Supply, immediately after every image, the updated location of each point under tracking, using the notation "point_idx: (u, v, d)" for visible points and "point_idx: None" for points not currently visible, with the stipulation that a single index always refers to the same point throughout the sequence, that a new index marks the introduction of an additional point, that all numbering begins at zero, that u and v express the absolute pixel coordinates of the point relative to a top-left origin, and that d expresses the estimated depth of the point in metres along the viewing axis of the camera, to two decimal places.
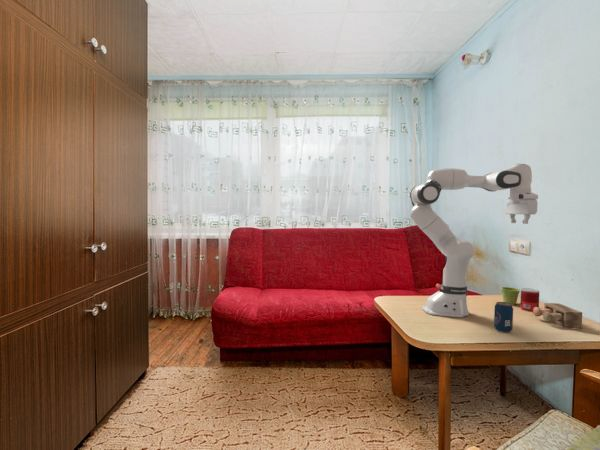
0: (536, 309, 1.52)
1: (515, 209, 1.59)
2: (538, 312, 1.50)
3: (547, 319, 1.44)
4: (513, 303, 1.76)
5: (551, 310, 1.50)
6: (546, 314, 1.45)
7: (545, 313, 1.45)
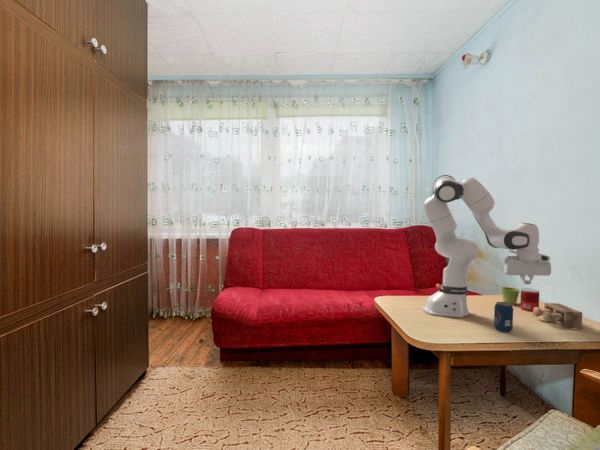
0: (536, 309, 1.52)
1: (527, 270, 1.50)
2: (538, 312, 1.50)
3: (547, 319, 1.44)
4: (513, 303, 1.76)
5: (551, 310, 1.50)
6: (546, 314, 1.45)
7: (545, 313, 1.45)
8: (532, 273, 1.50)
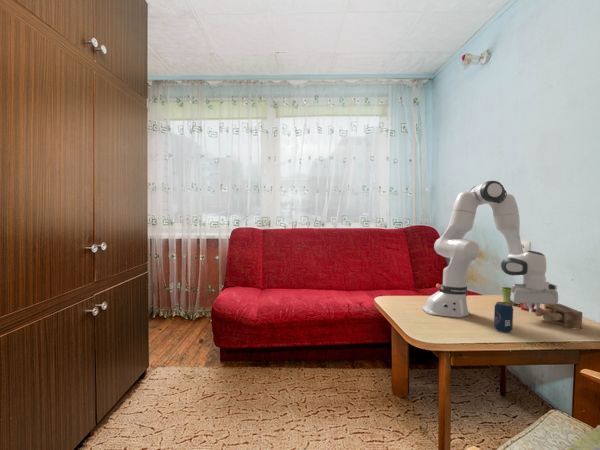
0: (537, 309, 1.52)
1: (534, 298, 1.50)
2: (539, 312, 1.50)
3: (547, 319, 1.44)
4: (513, 303, 1.76)
5: (552, 310, 1.50)
6: (546, 314, 1.45)
7: (545, 313, 1.45)
8: (539, 301, 1.50)
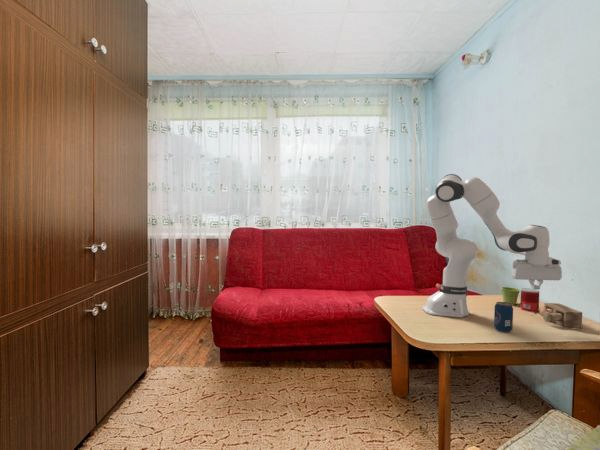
0: (542, 309, 1.51)
1: (536, 274, 1.43)
2: None
3: (547, 319, 1.44)
4: (513, 303, 1.76)
5: None
6: (546, 314, 1.45)
7: (545, 313, 1.45)
8: (542, 278, 1.43)
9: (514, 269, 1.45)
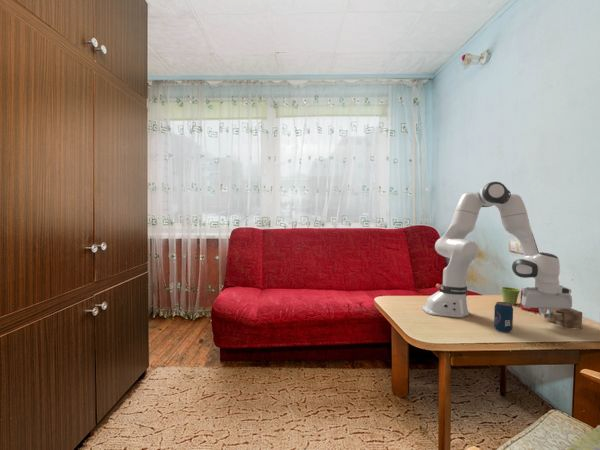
0: None
1: (547, 303, 1.43)
2: None
3: (551, 319, 1.44)
4: (513, 303, 1.76)
5: None
6: (550, 314, 1.45)
7: None
8: (552, 306, 1.43)
9: (524, 297, 1.45)
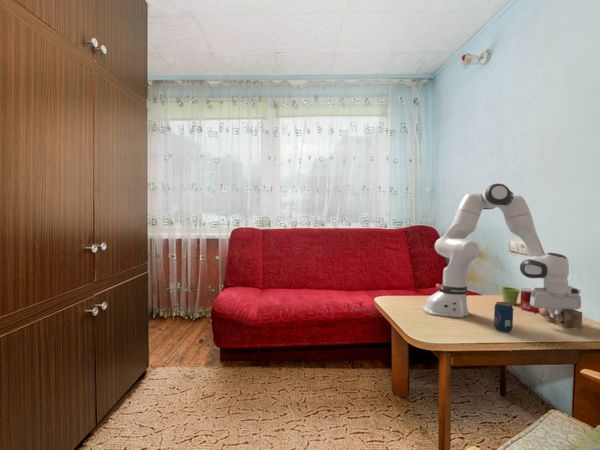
0: (542, 309, 1.51)
1: (556, 303, 1.43)
2: (544, 312, 1.50)
3: (559, 319, 1.44)
4: (513, 303, 1.76)
5: None
6: None
7: None
8: (561, 306, 1.42)
9: (533, 297, 1.45)
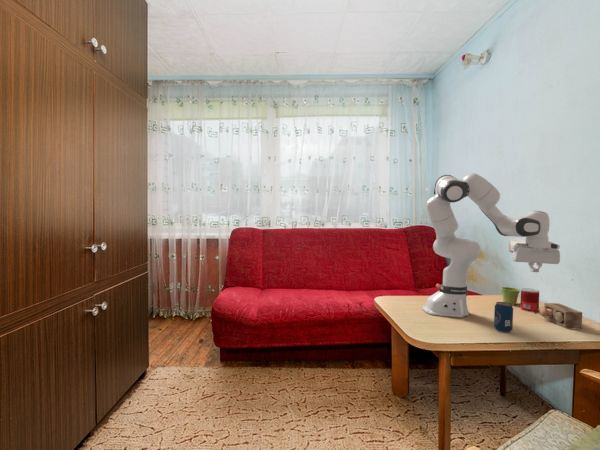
0: (542, 309, 1.51)
1: (536, 257, 1.51)
2: (544, 312, 1.50)
3: (559, 319, 1.44)
4: (513, 303, 1.76)
5: None
6: (558, 314, 1.44)
7: (557, 313, 1.45)
8: (541, 261, 1.50)
9: (515, 252, 1.53)
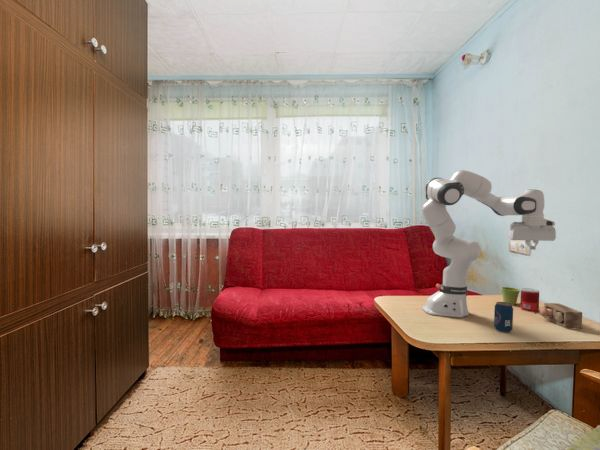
0: (542, 309, 1.51)
1: (532, 235, 1.54)
2: (544, 312, 1.50)
3: (559, 319, 1.44)
4: (513, 303, 1.76)
5: None
6: (558, 314, 1.44)
7: (557, 313, 1.45)
8: (537, 238, 1.54)
9: (511, 231, 1.56)
